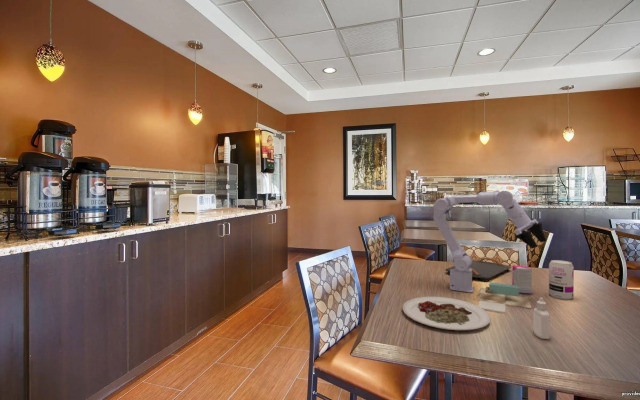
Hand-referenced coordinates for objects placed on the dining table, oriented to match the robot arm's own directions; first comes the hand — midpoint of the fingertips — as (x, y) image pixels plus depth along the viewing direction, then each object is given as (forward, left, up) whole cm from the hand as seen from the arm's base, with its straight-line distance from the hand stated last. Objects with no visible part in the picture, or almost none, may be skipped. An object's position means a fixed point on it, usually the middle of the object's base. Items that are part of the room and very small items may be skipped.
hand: (539, 244), depth 121 cm
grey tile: (-16, -16, -24) cm, 33 cm away
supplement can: (+9, +12, -24) cm, 28 cm away
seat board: (-12, -4, -24) cm, 27 cm away
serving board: (-25, +39, -24) cm, 52 cm away
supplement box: (-5, +11, -24) cm, 27 cm away
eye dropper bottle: (-2, -34, -24) cm, 42 cm away
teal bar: (-12, -4, -21) cm, 25 cm away
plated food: (-31, -32, -24) cm, 51 cm away
